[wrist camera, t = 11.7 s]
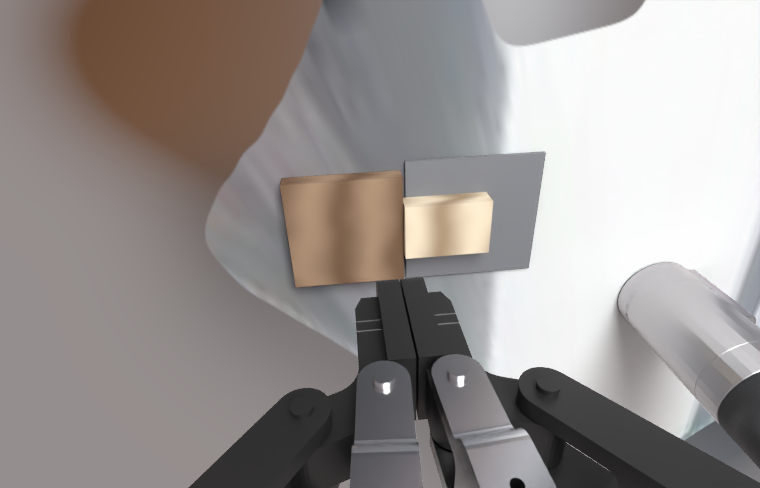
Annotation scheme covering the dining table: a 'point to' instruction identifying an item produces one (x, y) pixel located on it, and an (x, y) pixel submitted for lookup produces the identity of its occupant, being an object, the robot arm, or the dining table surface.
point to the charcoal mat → (510, 207)
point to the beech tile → (447, 224)
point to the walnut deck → (345, 227)
